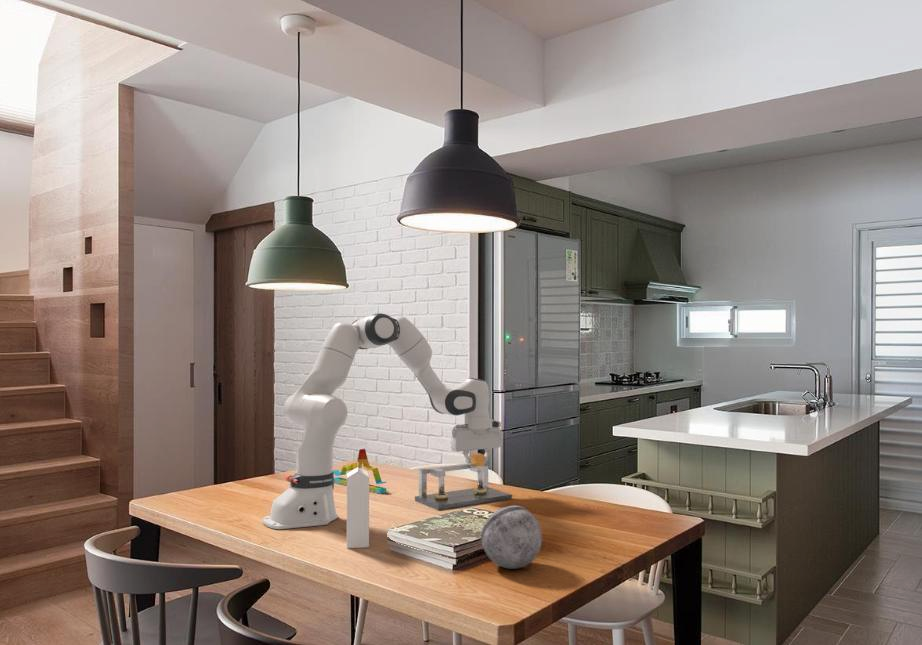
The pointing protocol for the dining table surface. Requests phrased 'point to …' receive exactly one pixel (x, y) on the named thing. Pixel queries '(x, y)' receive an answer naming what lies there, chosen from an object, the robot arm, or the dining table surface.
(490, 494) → the plate
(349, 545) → the milk
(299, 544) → the dining table surface
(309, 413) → the robot arm
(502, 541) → the decorative orb
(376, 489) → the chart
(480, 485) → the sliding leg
